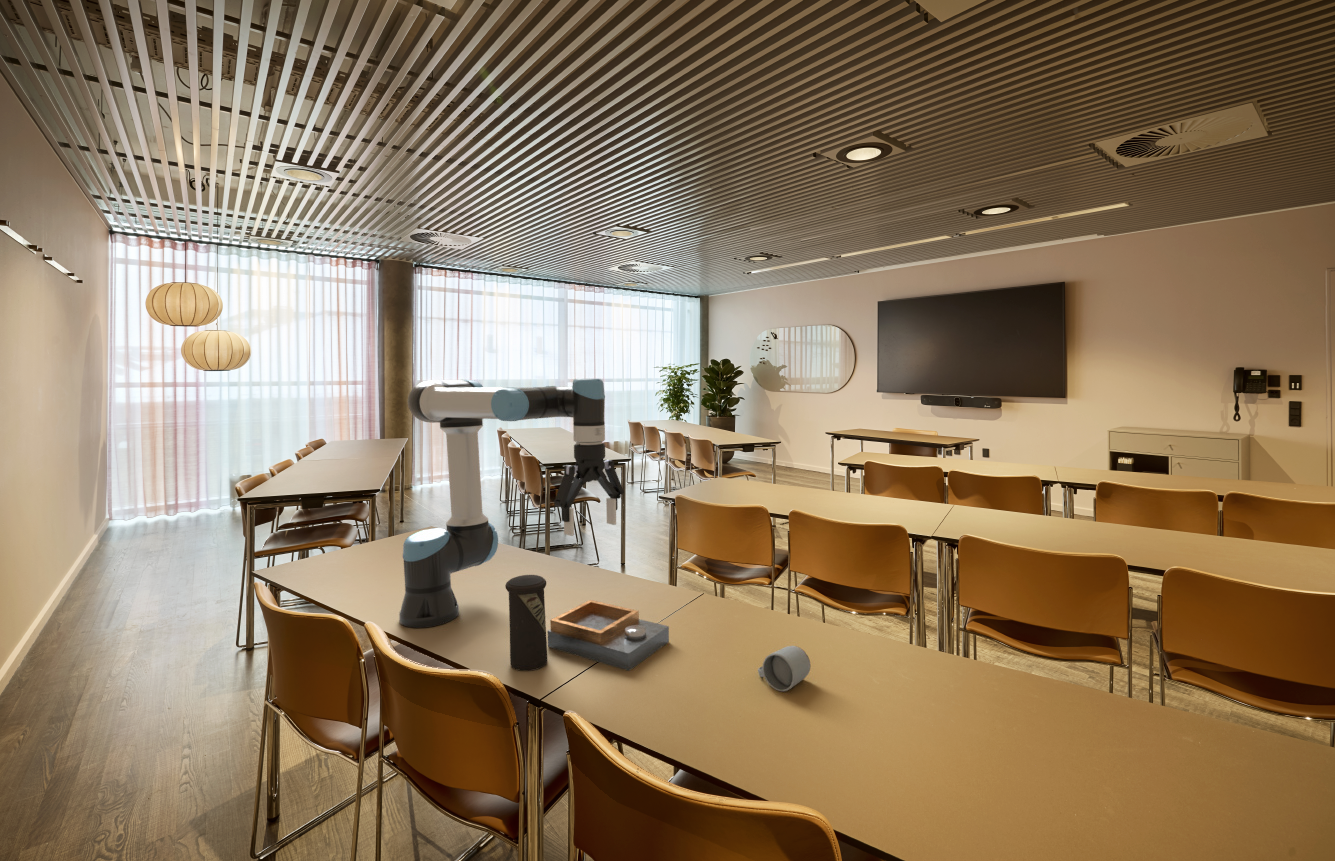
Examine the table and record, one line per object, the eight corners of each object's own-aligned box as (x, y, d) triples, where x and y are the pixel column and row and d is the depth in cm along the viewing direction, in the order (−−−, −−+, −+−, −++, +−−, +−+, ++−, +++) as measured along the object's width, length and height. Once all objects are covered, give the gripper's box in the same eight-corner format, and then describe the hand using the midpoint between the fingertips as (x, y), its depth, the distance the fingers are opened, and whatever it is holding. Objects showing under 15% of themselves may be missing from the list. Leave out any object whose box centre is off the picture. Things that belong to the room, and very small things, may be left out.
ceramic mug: (813, 681, 129) (812, 646, 129) (793, 696, 123) (793, 660, 123) (770, 666, 136) (770, 633, 136) (749, 680, 130) (749, 646, 130)
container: (539, 673, 134) (536, 585, 132) (501, 670, 136) (498, 583, 134) (554, 656, 142) (552, 572, 141) (518, 652, 144) (515, 570, 142)
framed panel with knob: (547, 646, 147) (547, 620, 147) (592, 622, 162) (591, 598, 161) (628, 670, 135) (628, 642, 134) (668, 641, 149) (668, 616, 149)
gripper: (557, 448, 135) (559, 542, 137) (637, 439, 153) (637, 521, 155) (537, 446, 140) (539, 536, 142) (616, 437, 158) (617, 517, 160)
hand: (591, 529), depth 148 cm, fingers open, 13 cm apart
